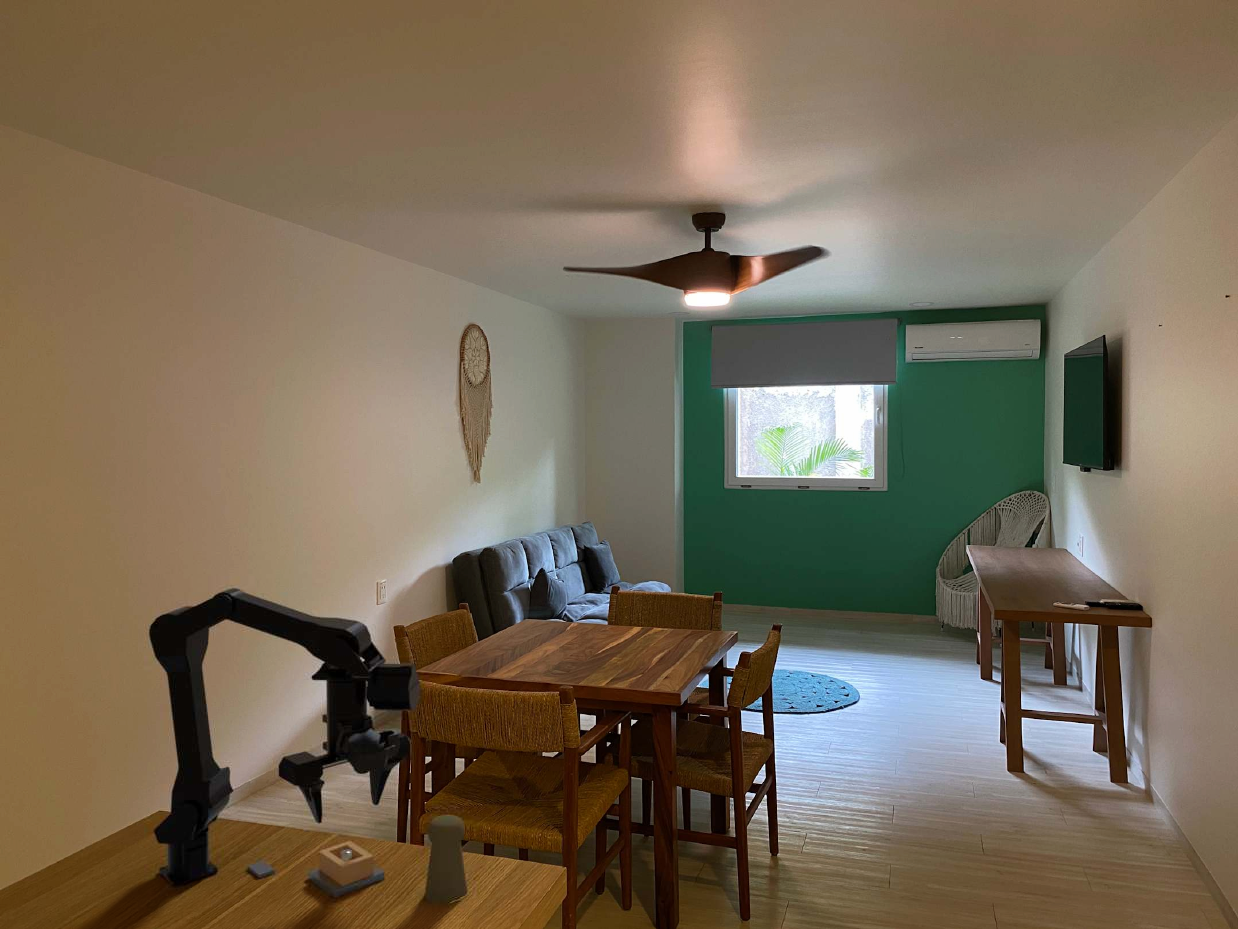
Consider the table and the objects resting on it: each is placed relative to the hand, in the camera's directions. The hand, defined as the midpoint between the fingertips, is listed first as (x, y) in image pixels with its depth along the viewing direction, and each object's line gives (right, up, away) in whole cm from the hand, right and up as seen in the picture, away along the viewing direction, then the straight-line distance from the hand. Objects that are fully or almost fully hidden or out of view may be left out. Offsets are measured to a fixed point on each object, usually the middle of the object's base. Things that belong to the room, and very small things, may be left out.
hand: (347, 813), depth 138 cm
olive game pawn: (+15, -10, -4) cm, 19 cm away
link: (0, -9, 0) cm, 9 cm away
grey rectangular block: (-14, -10, +3) cm, 17 cm away
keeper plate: (0, -10, 0) cm, 10 cm away
